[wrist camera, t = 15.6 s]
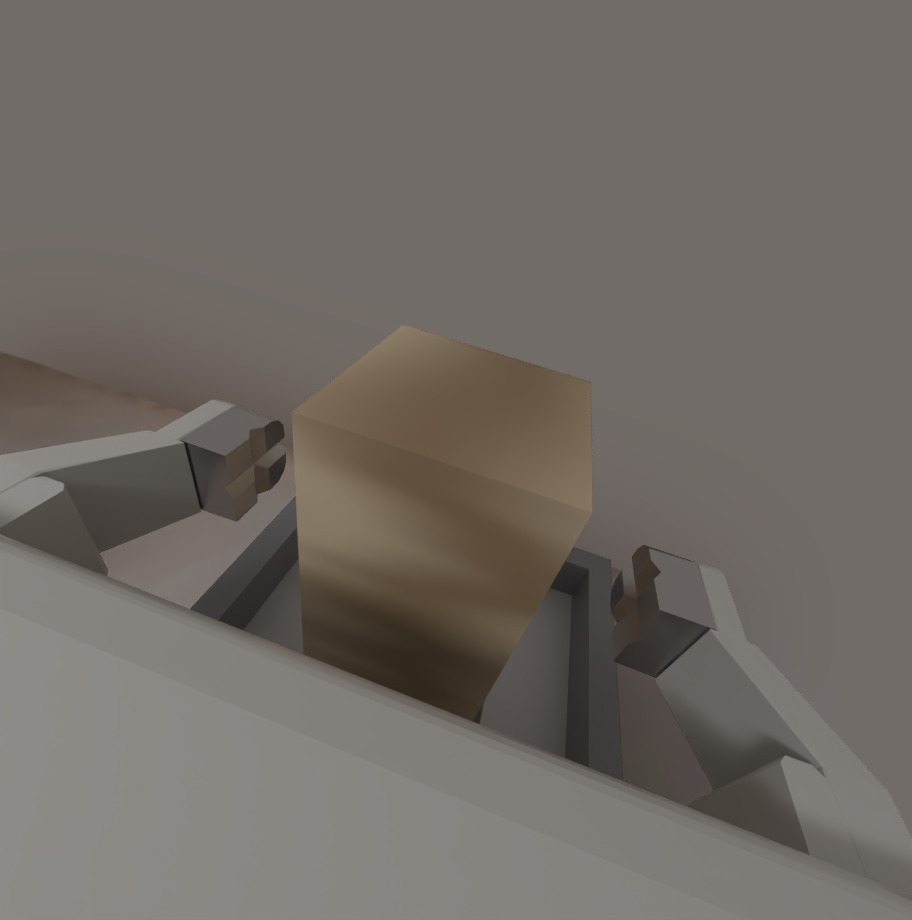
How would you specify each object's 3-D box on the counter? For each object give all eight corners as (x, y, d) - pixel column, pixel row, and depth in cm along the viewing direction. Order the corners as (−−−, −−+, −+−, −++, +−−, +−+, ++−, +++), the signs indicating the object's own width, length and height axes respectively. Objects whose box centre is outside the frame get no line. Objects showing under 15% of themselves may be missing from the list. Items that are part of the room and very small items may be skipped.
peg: (308, 765, 14) (291, 411, 5) (361, 654, 17) (403, 324, 8) (420, 812, 13) (593, 512, 5) (452, 689, 16) (591, 382, 8)
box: (-12, 980, 10) (-154, 977, 7) (326, 531, 23) (327, 462, 20) (541, 1266, 9) (659, 1416, 6) (569, 619, 21) (610, 559, 18)
